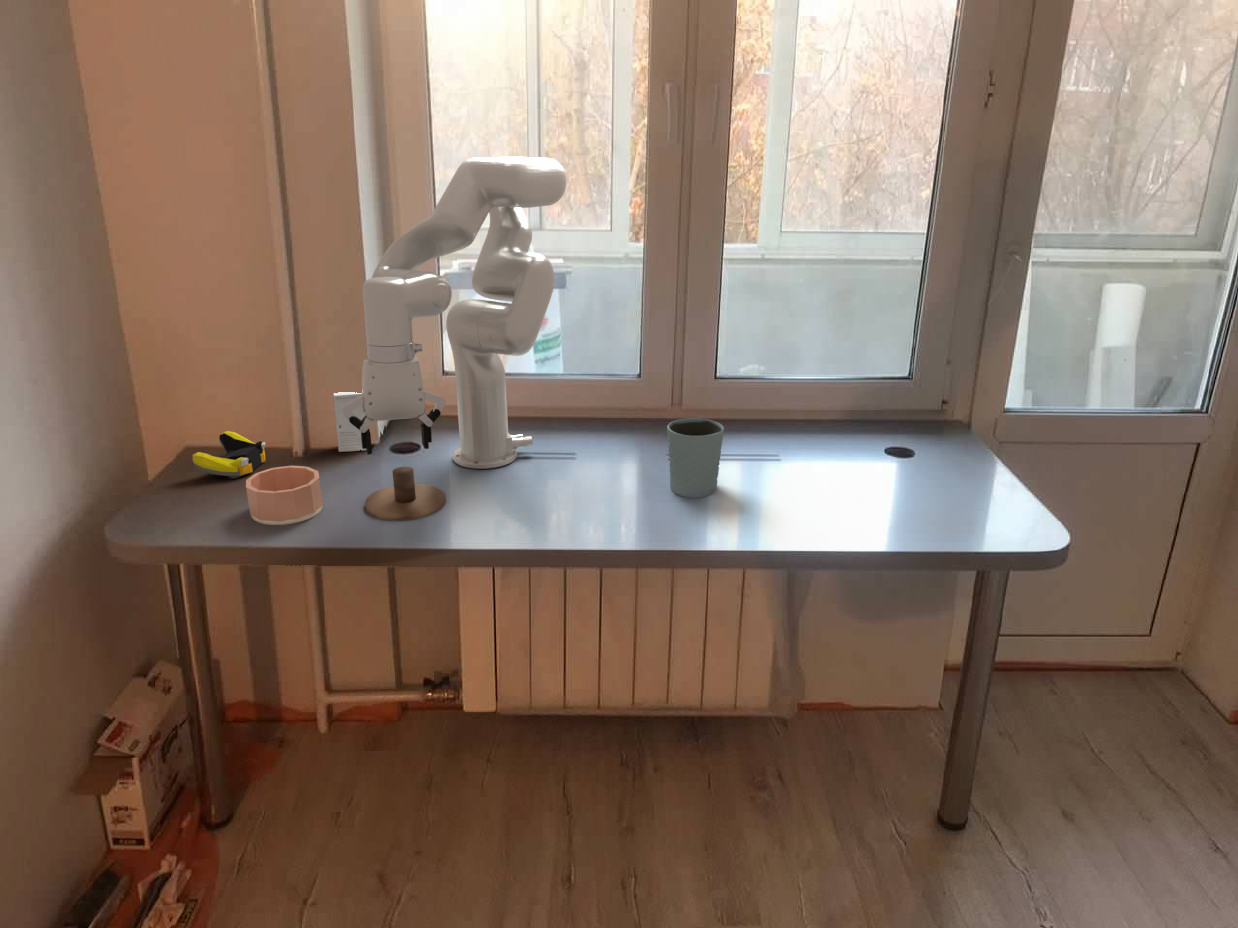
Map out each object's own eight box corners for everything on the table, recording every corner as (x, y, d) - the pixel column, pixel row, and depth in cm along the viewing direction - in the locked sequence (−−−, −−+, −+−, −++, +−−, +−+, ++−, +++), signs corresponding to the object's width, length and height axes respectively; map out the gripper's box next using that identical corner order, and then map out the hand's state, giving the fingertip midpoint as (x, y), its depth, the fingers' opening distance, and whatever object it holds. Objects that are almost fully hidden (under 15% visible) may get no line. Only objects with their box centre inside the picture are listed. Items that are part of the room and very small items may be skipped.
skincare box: (338, 452, 196) (331, 395, 191) (339, 445, 200) (332, 389, 195) (369, 450, 197) (363, 393, 192) (370, 442, 201) (364, 387, 197)
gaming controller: (191, 483, 182) (242, 484, 181) (186, 455, 180) (238, 456, 179) (227, 454, 196) (275, 455, 195) (222, 428, 194) (271, 429, 193)
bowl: (320, 493, 177) (316, 462, 174) (325, 519, 166) (320, 487, 164) (251, 502, 173) (246, 471, 171) (251, 529, 162) (245, 496, 160)
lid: (438, 485, 181) (436, 452, 178) (452, 515, 168) (449, 479, 166) (361, 495, 176) (358, 461, 174) (370, 526, 164) (366, 490, 162)
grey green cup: (659, 494, 175) (660, 432, 171) (675, 474, 184) (676, 414, 180) (713, 502, 172) (715, 438, 168) (727, 481, 181) (730, 420, 177)
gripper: (438, 344, 168) (443, 438, 174) (335, 351, 162) (344, 447, 168) (446, 354, 161) (451, 451, 167) (338, 361, 156) (347, 461, 162)
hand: (397, 449), depth 168 cm, fingers open, 9 cm apart
